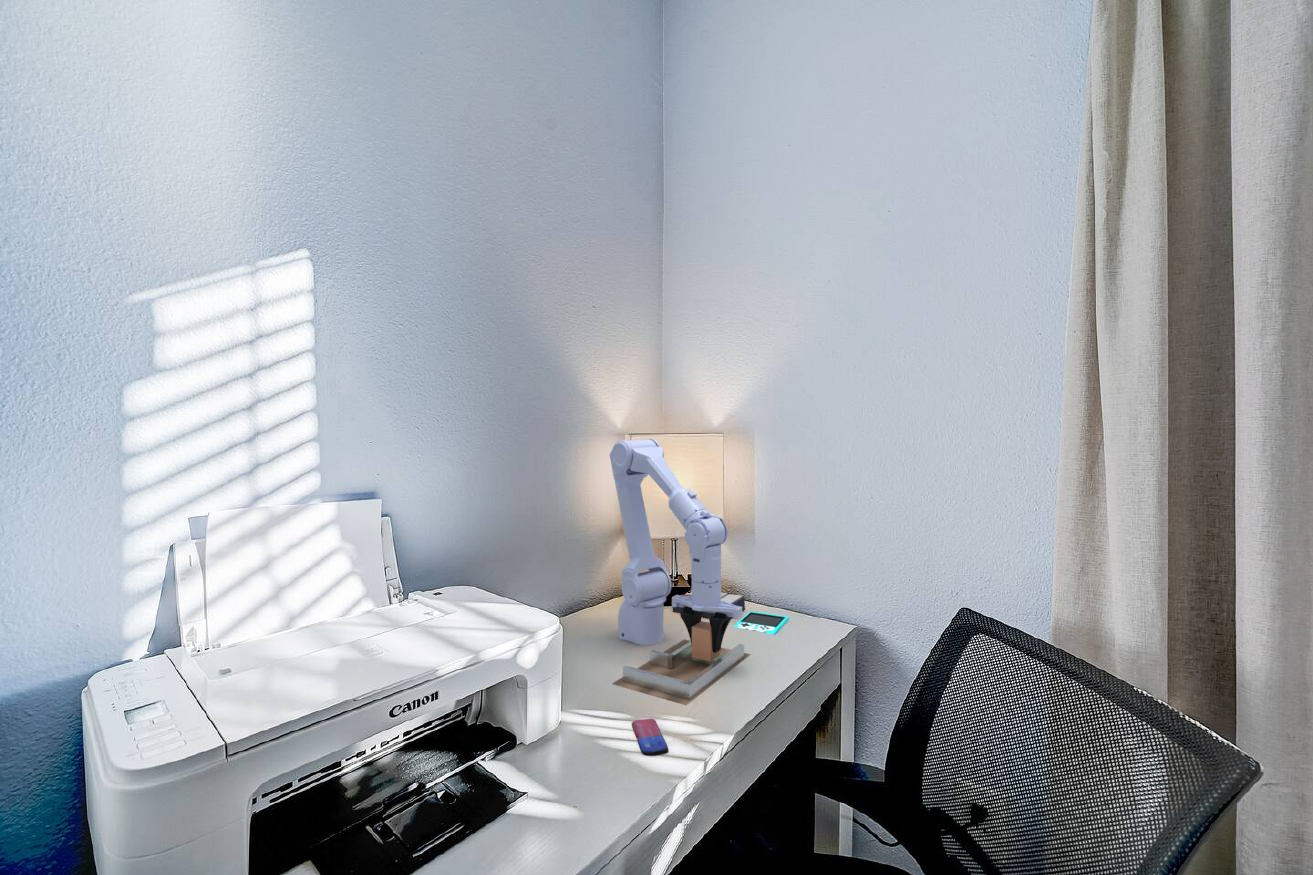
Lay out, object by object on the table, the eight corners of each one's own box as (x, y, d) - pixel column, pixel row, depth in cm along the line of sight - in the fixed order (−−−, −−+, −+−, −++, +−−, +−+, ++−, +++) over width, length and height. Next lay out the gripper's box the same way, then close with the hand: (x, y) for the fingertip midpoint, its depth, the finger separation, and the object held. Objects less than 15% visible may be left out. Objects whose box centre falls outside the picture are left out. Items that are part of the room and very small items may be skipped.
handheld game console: (726, 636, 143) (726, 630, 143) (749, 615, 157) (749, 609, 157) (769, 643, 138) (769, 637, 138) (789, 621, 153) (789, 615, 153)
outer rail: (622, 680, 116) (622, 667, 116) (683, 643, 135) (683, 631, 134) (689, 699, 109) (689, 685, 108) (744, 656, 127) (744, 644, 127)
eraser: (629, 727, 102) (628, 716, 102) (653, 724, 103) (653, 714, 103) (642, 764, 91) (642, 752, 91) (670, 760, 92) (670, 748, 92)
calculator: (692, 587, 168) (744, 593, 160) (693, 604, 168) (745, 610, 160) (671, 598, 158) (725, 605, 151) (672, 615, 159) (726, 623, 151)
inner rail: (649, 664, 124) (649, 651, 124) (683, 643, 135) (683, 631, 134) (671, 669, 121) (671, 656, 121) (704, 647, 132) (704, 635, 132)
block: (691, 657, 123) (691, 626, 123) (701, 650, 127) (701, 620, 126) (710, 661, 121) (710, 630, 121) (719, 654, 125) (719, 624, 124)
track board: (612, 689, 115) (611, 683, 115) (684, 643, 137) (684, 638, 137) (686, 710, 107) (686, 704, 107) (750, 658, 128) (750, 653, 128)
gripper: (663, 578, 124) (663, 647, 125) (730, 590, 116) (730, 663, 117) (682, 570, 130) (682, 636, 130) (747, 581, 122) (746, 650, 123)
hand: (706, 648), depth 124 cm, fingers closed on block, 4 cm apart
